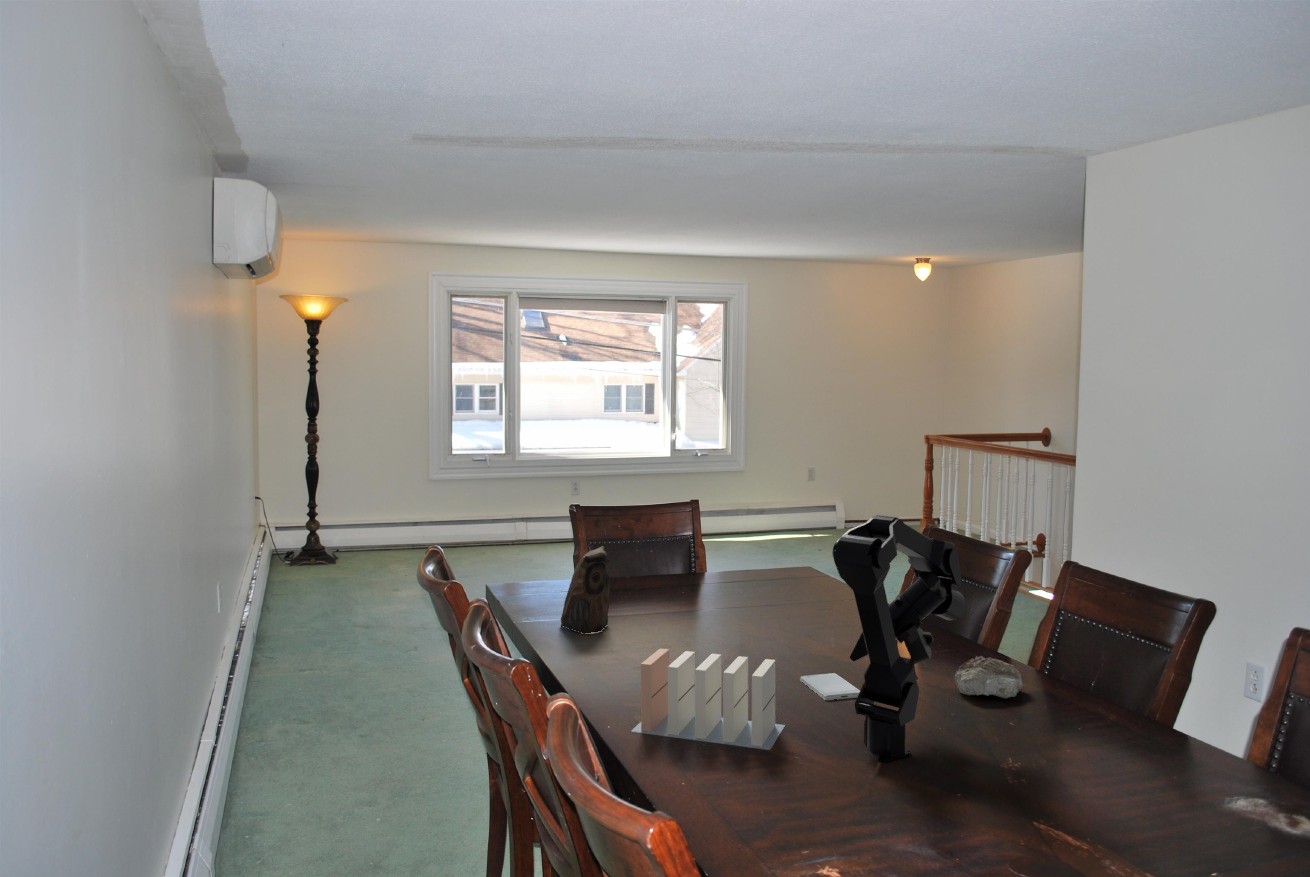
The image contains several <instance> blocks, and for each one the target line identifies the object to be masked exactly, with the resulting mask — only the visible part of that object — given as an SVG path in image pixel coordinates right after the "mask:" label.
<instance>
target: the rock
mask: <svg viewBox="0 0 1310 877" xmlns="http://www.w3.org/2000/svg"><path fill="white" fill-rule="evenodd" d="M954 681H955V686H956V687H957V689H958V690H959V692H960V694H963V695H967V696H975V695H976V696H979V695H985V696H992V695H993V696H996V697H999V698H1003V699H1009V698H1015V697H1017V694H1018V693H1019V692H1020V690H1021V689H1022V687H1023V685H1024V684H1023V681H1022V674H1021V671H1020V670H1018V669H1017V668H1016V666H1015V665H1013V664H1010V663H1009V662H1008V663H1007V662H1004V660H1000V659H996V658H992V657H991V656H990V657H986V658H985V657H984V656H983V655H980V656H978V655H976V656H975V658H971V659H968V660H966V661H965V662H963V663H962V664H961V665H960V666H959V667H958V668H957V670H956V671H955V675H954Z"/></svg>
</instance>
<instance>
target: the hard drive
mask: <svg viewBox="0 0 1310 877" xmlns="http://www.w3.org/2000/svg"><path fill="white" fill-rule="evenodd" d="M799 682H801V683H802V682H803V683H804V684H805V685H804V684H803V683H802V684H803V685H804V686H806V685H807V686H808V687H809V688H808V687H807V686H806V687H807V688H808V689H810V690H811V691H812V690H813V691H814V692H813V691H812V692H813V693H815V694H816V693H817V694H818V697H819V698H821V699H823V700H824V701H825V700H826V701H835V700H834V699H837V700H845V699H853V698H854V699H855V698H856V699H857V697H858V695H859V693H860V690H861V689H858V688H857V687H856V686H854V685H853V684H851V683H850V682H849V681H847V680H846V679H845V678H843V677H841V676H840V675H839V674H837V673H835V672H833V673H830V672H829V673H821V674H810V675H802V676H800V678H799ZM817 694H816V695H817Z"/></svg>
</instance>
